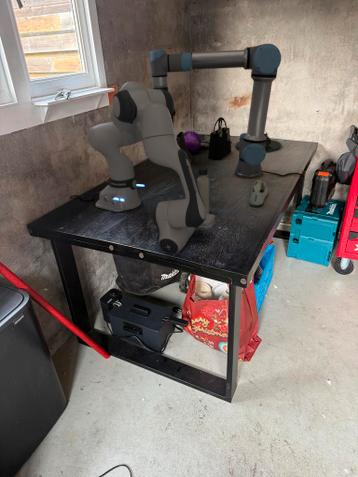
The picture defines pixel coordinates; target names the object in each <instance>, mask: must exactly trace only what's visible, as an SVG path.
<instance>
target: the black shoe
mask: <svg viewBox="0 0 358 477" xmlns="http://www.w3.org/2000/svg"><path fill="white" fill-rule="evenodd" d="M264 135H265V136H266V138H267V139H266V146H265V150H266V153H271V152H276V151H279V150H280V149H281V148H282V143H281V142H279V141H277V140H272V139H271V137H270V136H269V134H268V132H265V133H264ZM239 144H240V141H238V142H236V144H235V148H236V149H237V150H238V151H239Z"/></svg>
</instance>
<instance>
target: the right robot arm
mask: <svg viewBox="0 0 358 477" xmlns="http://www.w3.org/2000/svg"><path fill="white" fill-rule="evenodd" d="M281 62H282V54H281V50H280V49H279V48H278V47H277V45H275V44H273V43H269V42H268V43H262V44H258V45H254V46H246V47H245V48H244V49H235V50H233V49H231V50H213V51H195V52H193V51H192V52H179V53H167V52H166V49H154V50H150V52H149V64H150V74H151V83H152V84H151V85H152V89H156V90H158V89H162V90H166V91H168V92H169V87H168V86H169V79H168V73H183V72H184V73H186V72H191V71H192V70H211V69H212V70H215V69H216V70H217V69H239V68H243V70H248V71H249V70H251V72H250V78H251V80H252V90H251V98H250V104H249V105H250V106H249V113H248V122H247V127H246V128H247V130H246V132H243V133H241V134H240V135H239V139H238V140H239V142H240V144H239V150H238V152H239V153H238V162H237V165H236V167H235V170H234V174H235V176H236V177H239V178H243V179H255V178H259V177H261V176H262V175H263V173H265V174H269V175H275V176H279V177H287V176H289V175H292V176H293V175H298V176H300V177H301V178H305V176H304V174H302V173H300V172H287V173H285V174H280V173H277V172H273V171H267V170H263V169H262V165H261V164H262V163H263V161H264V160H265V159H266V155H267V152H266V150H265V146H266V139H267V138H266V136H265V135H264V134H265V133H266V132H265V131H266V124H267V120H268V119H267V118H268V113H269V106H270V105H269V104H270V99H271V93H272V86H273V82H274V81H275V80H276V79H277V76H278V70H279V67H280V65H281ZM176 113H177V111H176V109H175V107H174V111H173V114H172V116H171V119H172V123H173V127H174V128H175V122H174V119H175V118H174V117H175V116H176Z"/></svg>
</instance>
